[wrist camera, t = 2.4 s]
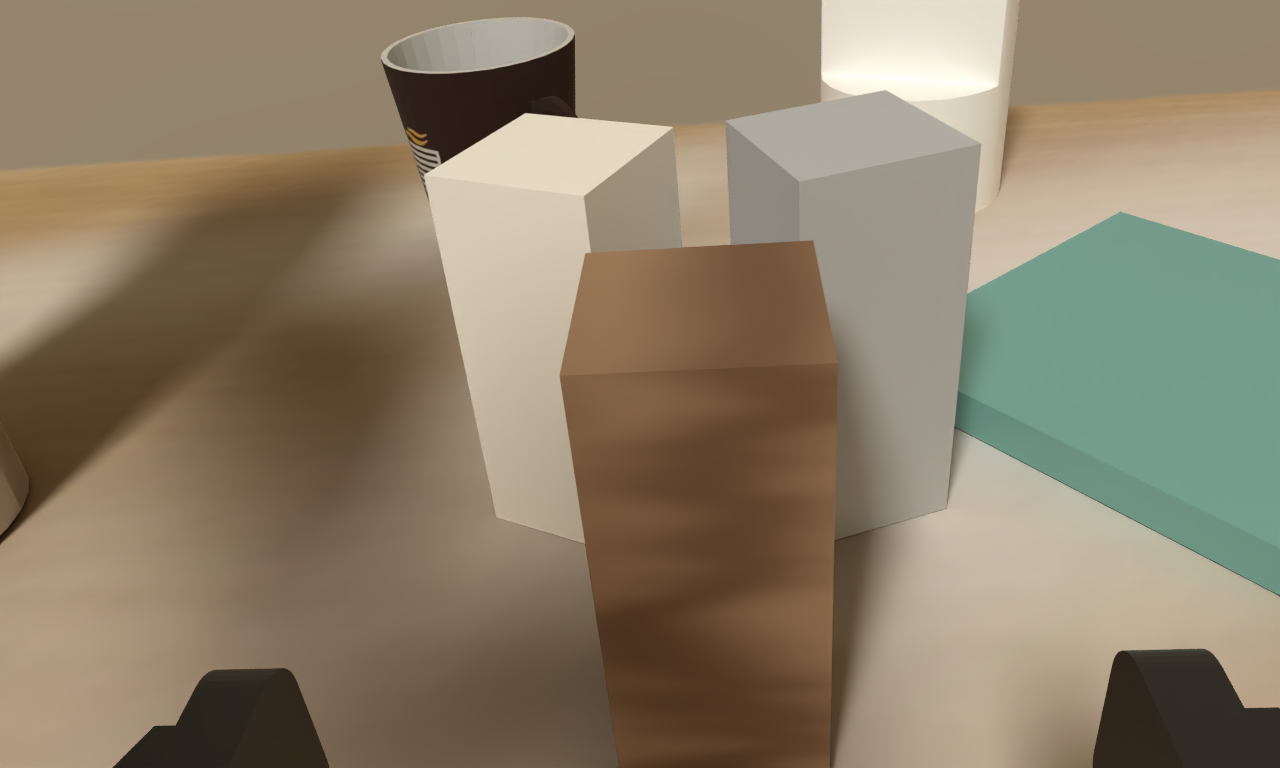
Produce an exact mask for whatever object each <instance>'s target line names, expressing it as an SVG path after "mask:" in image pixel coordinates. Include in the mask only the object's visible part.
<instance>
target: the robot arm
mask: <svg viewBox="0 0 1280 768" xmlns="http://www.w3.org/2000/svg"><path fill="white" fill-rule="evenodd" d="M28 492H29V477H28V475H27V473H26V470H25V468H24V466H23V464H22V462H21V460H20V458H19V456H18V454H17V452H16V450H15V448H14V446H13V444H12V442H11V441H10V439H9V437H8V435H7V433H6V431H5V429H4V427H3V425H2V423H1V421H0V535H1V534H2V533H3V532H4V531H5V530H6V529H7V528H8V527H9V526H10V524H11V523H12V522H13V520H14V519H15V517H16V516H17V515H18V513H19V512H20V511H21V509H22V507H23V505H24V502H25V500H26V497H27V495H28ZM113 768H329V765H328V761H327V759H326V756H325V753H324V751H323V748H322V746H321V743H320V740H319V738H318V735H317V733H316V730H315V727H314V725H313V722H312V720H311V717H310V715H309V712H308V709H307V707H306V704H305V702H304V699H303V696H302V694H301V691H300V689H299V686H298V683H297V681H296V679H295V677H294V675H293V674H292V673H291V672H290V671H289V670H288V669H285V668H273V669H232V670H212V671H210V672H208V673H207V674H206V675H204V676H203V678H202V679H201V680H200V681H199V683H198V684H197V686H196V688H195V690H194V691H193V693H192V695H191V697H190V699H189V701H188V703H187V705H186V707H185V709H184V710H183V712H182V714H181V716H180V718H179V720H178V722H177V724H176V726H154V727H153V728H152V729H151V730H150V731H149V732H148V733H147V734H146V735H145V736H144V737H143V738H142V739H141V740H140V741H139V742H138V743H137V744H136V745H135V746H134V747H133V748H132V749H131V750H130V751H129V752H128V753H127V754H126V755H125V756H124V757H123V758H122V759H121V760H120V761H119V762H118V763H117V764H116V765H115V766H114V767H113ZM1093 768H1280V708H1244V706H1243V705H1242V703H1241V701H1240V699H1239V697H1238V695H1237V693H1236V692H1235V690H1234V688H1233V686H1232V684H1231V682H1230V681H1229V679H1228V677H1227V675H1226V673H1225V671H1224V670H1223V668H1222V666H1221V664H1220V663H1219V661H1218V660H1217V659H1216V657H1215V656H1214V655H1213V654H1212V653H1211V652H1209V651H1208V650H1206V649H1172V650H1130V651H1120V652H1118V653H1117V655H1116V656H1115V658H1114V661H1113V664H1112V669H1111V673H1110V678H1109V683H1108V688H1107V692H1106V697H1105V702H1104V707H1103V711H1102V716H1101V721H1100V726H1099V730H1098V735H1097V740H1096V745H1095V749H1094V755H1093Z"/></svg>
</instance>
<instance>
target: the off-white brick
mask: <svg viewBox="0 0 1280 768" xmlns="http://www.w3.org/2000/svg"><path fill="white" fill-rule="evenodd" d="M424 178H425V183H426V188H427V192H428V197H429V202H430V206H431V211H432V216H433V221H434V225H435V230H436V235H437V239H438V244H439V249H440V254H441V258H442V263H443V268H444V272H445V277H446V282H447V287H448V291H449V296H450V301H451V305H452V310H453V315H454V320H455V324H456V329H457V334H458V338H459V343H460V348H461V353H462V357H463V362H464V367H465V371H466V376H467V381H468V386H469V390H470V395H471V400H472V404H473V409H474V414H475V419H476V423H477V428H478V433H479V438H480V442H481V447H482V452H483V456H484V461H485V466H486V471H487V475H488V480H489V485H490V489H491V494H492V499H493V504H494V508H495V513H496V517H497V518H500V519H504V520H507V521H510V522H514V523H517V524H520V525H524V526H527V527H530V528H534V529H537V530H540V531H544V532H547V533H550V534H554V535H557V536H560V537H564V538H567V539H570V540H573V541H577V542H580V543H583V544H585V540H584V533H583V527H582V520H581V513H580V507H579V500H578V494H577V487H576V481H575V474H574V468H573V461H572V455H571V448H570V441H569V435H568V428H567V422H566V415H565V409H564V402H563V396H562V389H561V383H560V371H561V366H562V361H563V357H564V352H565V347H566V342H567V338H568V333H569V328H570V323H571V319H572V314H573V309H574V304H575V300H576V295H577V290H578V285H579V281H580V276H581V271H582V266H583V262H584V257H585V253H596V252H614V251H632V250H650V249H668V248H682V240H681V226H680V212H679V198H678V184H677V171H676V157H675V143H674V129H673V127H666V126H654V125H645V124H634V123H624V122H613V121H603V120H592V119H581V118H571V117H560V116H550V115H539V114H529V113H525V114H523V115H522V116H520V117H518V118H517V119H515V120H513V121H512V122H510V123H509V124H507V125H505V126H504V127H502V128H500V129H499V130H497V131H495V132H494V133H492V134H490V135H489V136H487V137H486V138H484V139H482V140H481V141H479V142H477V143H476V144H474V145H472V146H471V147H469V148H468V149H466V150H464V151H463V152H461V153H459V154H458V155H456V156H454V157H453V158H451V159H449V160H448V161H446V162H445V163H443V164H441V165H440V166H438V167H436V168H435V169H433V170H431V171H430V172H428V173H426V174H425V175H424Z"/></svg>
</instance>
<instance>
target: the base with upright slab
mask: <svg viewBox="0 0 1280 768" xmlns="http://www.w3.org/2000/svg"><path fill="white" fill-rule="evenodd" d="M1019 3H1020V0H822V6H821V7H822V8H821V102H826V101H831V100H836V99H841V98H847V97H852V96H857V95H862V94H868V93H873V92H878V91H883V90H887V91H888V92H890V93H892V94H894V95H895V96H897V97H899V98H901V99H903V100H904V101H906V102H908V103H910V104H911V105H913V106H915V107H917V108H919V109H920V110H922V111H924V112H926V113H927V114H929V115H931V116H933V117H935V118H936V119H938V120H940V121H942V122H943V123H945V124H947V125H949V126H951V127H952V128H954V129H956V130H958V131H959V132H961V133H963V134H965V135H966V136H968V137H970V138H972V139H974V140H975V141H977V142H979V143H981V153H980V164H979V174H978V185H977V195H976V205H975V213H976V212H978V211H980V210H981V209H983V208H985V207H987V206H989V205H990V204H991V203H992V202H993V201H994V200H995V199H996V198H997V196H998V194H999V188H1000V179H1001V170H1002V160H1003V151H1004V142H1005V133H1006V124H1007V114H1008V105H1009V96H1010V87H1011V86H1010V85H1011V78H1012V67H1013V59H1014V50H1015V40H1016V31H1017V22H1018V12H1019Z"/></svg>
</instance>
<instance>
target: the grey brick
mask: <svg viewBox="0 0 1280 768" xmlns="http://www.w3.org/2000/svg"><path fill="white" fill-rule="evenodd" d="M726 144H727V167H728V190H729V214H730V237H731V245H739V244H757V243H775V242H792V241H810V240H813V242H814V247H815V252H816V256H817V261H818V266H819V271H820V276H821V281H822V286H823V291H824V296H825V301H826V306H827V311H828V316H829V321H830V326H831V331H832V336H833V341H834V346H835V351H836V356H837V361H838V389H837V438H836V487H835V536H834V540H837V539H841V538H844V537H848V536H851V535H855V534H859V533H862V532H866V531H869V530H873V529H876V528H880V527H883V526H887V525H890V524H894V523H897V522H901V521H904V520H908V519H911V518H915V517H918V516H922V515H925V514H929V513H932V512H936V511H939V510H943V509H946V508H947V498H948V488H949V477H950V467H951V456H952V446H953V435H954V425H955V414H956V404H957V394H958V383H959V373H960V362H961V352H962V341H963V331H964V320H965V310H966V300H967V289H968V279H969V268H970V258H971V247H972V237H973V226H974V216H975V205H976V195H977V185H978V174H979V164H980V153H981V143H979V142H977V141H975V140H974V139H972V138H970V137H968V136H966V135H965V134H963V133H961V132H959V131H958V130H956V129H954V128H952V127H951V126H949V125H947V124H945V123H943V122H942V121H940V120H938V119H936V118H935V117H933V116H931V115H929V114H927V113H926V112H924V111H922V110H920V109H919V108H917V107H915V106H913V105H911V104H910V103H908V102H906V101H904V100H903V99H901V98H899V97H897V96H895V95H894V94H892V93H890V92H888V91H887V90H883V91H878V92H873V93H868V94H862V95H857V96H852V97H847V98H841V99H836V100H831V101H826V102H821V103H815V104H810V105H805V106H800V107H795V108H789V109H785V110H779V111H774V112H768V113H764V114H758V115H753V116H748V117H742V118H737V119H732V120H726Z"/></svg>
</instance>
